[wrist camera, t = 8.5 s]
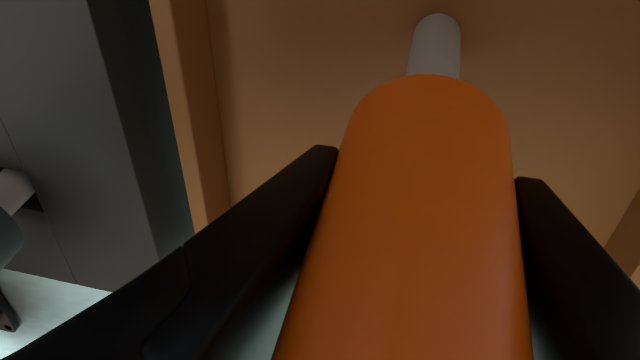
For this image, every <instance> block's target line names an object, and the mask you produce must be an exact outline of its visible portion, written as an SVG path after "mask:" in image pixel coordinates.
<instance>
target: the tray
mask: <svg viewBox="0 0 640 360" xmlns="http://www.w3.org/2000/svg"><path fill="white" fill-rule="evenodd" d="M149 5H150V10H151V15H152V20H153V25H154V30H155V35H156V40H157V45H158V50H159V55H160V60H161V65H162V70H163V75H164V80H165V86H166V91H167V96H168V101H169V106H170V111H171V116H172V121H173V126H174V131H175V136H176V141H177V146H178V151H179V156H180V161H181V166H182V171H183V176H184V181H185V187H186V192H187V197H188V202H189V207H190V212H191V217H192V222H193V227H194V232H195V234H196V233H198V232H199V231H200V230H202V229H203V228H204V227H206V226H207V225H208V224H210V223H211V222H213V221H214V220H215V219H217V218H218V217H219V216H221V215H222V214H223V213H225V212H226V211H227V210H229V209H230V208H231V207H233V206H234V205H235V204H237V203H238V202H239V201H241V200H242V199H243V198H245V197H246V196H247V195H249V194H250V193H251V192H253V191H254V190H255V189H257V188H258V187H259V186H261V185H262V184H263V183H265V182H266V181H267V180H269V179H270V178H271V177H273V176H274V175H275V174H277V173H278V172H279V171H281V170H282V169H283V168H285V167H286V166H287V165H289V164H290V163H291V162H293V161H294V160H295V159H297V158H298V157H299V156H301V155H302V154H303V153H305V152H306V151H307V150H309V149H310V148H311V147H313V146H314V145H316V144H321V145H327V146H333V147H337V148H338V150H339V149H340V146H341V143H342V140H343V137H344V134H345V131H346V128H347V125H348V122H349V119H350V116H351V115H352V113H353V111H354V109H355V108H356V106H357V105H358V103H359V102H360V101H361V100H362V99H363V98H364V97H365V96H366V95H367V94H368V93H370V92H371V91H372V90H373V89H375V88H377V87H378V86H380V85H382V84H384V83H386V82H388V81H391V80H393V79H396V78H400V77H403V76H405V75H406V70H407V65H408V60H409V55H410V50H411V45H412V40H413V35H414V30H415V27H416V26H417V24H418V23H419V22H420V20H422V19H423V18H424V17H426V16H428V15H431V14H435V13H441V14H446V15H448V16H450V17H452V18H453V19H454V20H455V21H456V22H457V23H458V25H459V28H460V32H461V37H460V75H459V80H462V81H464V82H466V83H468V84H471V85H472V86H474V87H476V88H477V89H479V90H480V91H482V92H483V93H484V94H486V95H487V96H488V97H489V98H490V99H491V100H492V101H493V102H494V103H495V104H496V105H497V107H498V108H499V110H500V111H501V113H502V114H503V116H504V118H505V121H506V123H507V126H508V130H509V136H510V145H511V154H512V164H513V173H514V179H515V178H516V177H518V176H524V177H530V178H537V179H541V180H543V181H544V182H545V183H546V184H547V185H548V186H549V187H550V188H551V190H552V191H553V192H554V193H555V194H556V195H557V196H558V197H559V199H560V200H561V201H562V202H563V203H564V204H565V205H566V206H567V208H568V209H569V210H570V211H571V212H572V213H573V214H574V215H575V217H576V218H577V219H578V220H579V221H580V222H581V223H582V224H583V226H584V227H585V228H586V229H587V230H588V231H589V232H590V233H591V235H592V236H593V237H594V238H595V239H596V240H597V241H598V242H599V244H600V245H601V246H602V247H603V248H604V249H605V250H606V251H607V253H608V254H609V255H610V256H611V257H612V258H613V259H614V260H615V262H616V263H617V264H618V265H619V266H620V267H621V268H622V269H623V271H624V272H625V273H626V274H627V275H628V276H629V277H630V278H631V280H632V281H633V282H634V283H635V284H636V285H637V286H638V287H639V289H640V0H149Z"/></svg>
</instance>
